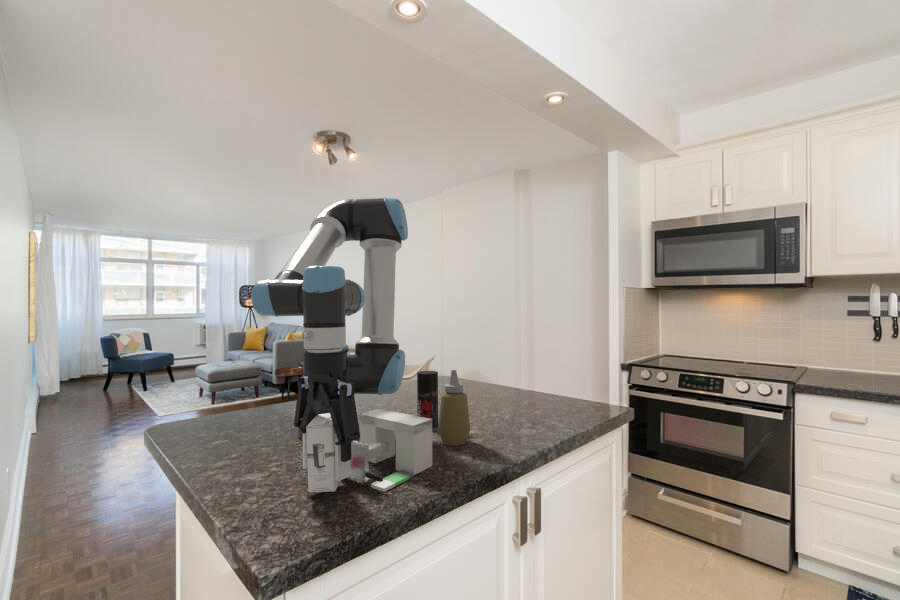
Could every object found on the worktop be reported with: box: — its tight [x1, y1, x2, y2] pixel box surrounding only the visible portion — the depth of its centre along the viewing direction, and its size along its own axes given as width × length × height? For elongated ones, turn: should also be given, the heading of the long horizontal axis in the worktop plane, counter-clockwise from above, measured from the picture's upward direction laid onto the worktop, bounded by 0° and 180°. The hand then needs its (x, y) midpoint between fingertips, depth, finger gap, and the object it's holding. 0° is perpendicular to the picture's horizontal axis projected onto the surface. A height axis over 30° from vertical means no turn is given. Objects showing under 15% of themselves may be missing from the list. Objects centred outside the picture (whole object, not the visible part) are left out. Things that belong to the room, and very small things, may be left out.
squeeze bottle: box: [437, 369, 471, 447], centre depth 107 cm, size 8×8×18 cm
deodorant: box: [416, 370, 439, 429], centre depth 122 cm, size 6×6×15 cm
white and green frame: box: [359, 408, 433, 493], centre depth 90 cm, size 16×15×10 cm
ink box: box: [306, 413, 340, 493], centre depth 79 cm, size 9×5×12 cm, turn 4°
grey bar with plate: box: [349, 440, 389, 483], centre depth 87 cm, size 12×10×7 cm
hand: (325, 471), depth 79 cm, fingers closed on ink box, 9 cm apart
